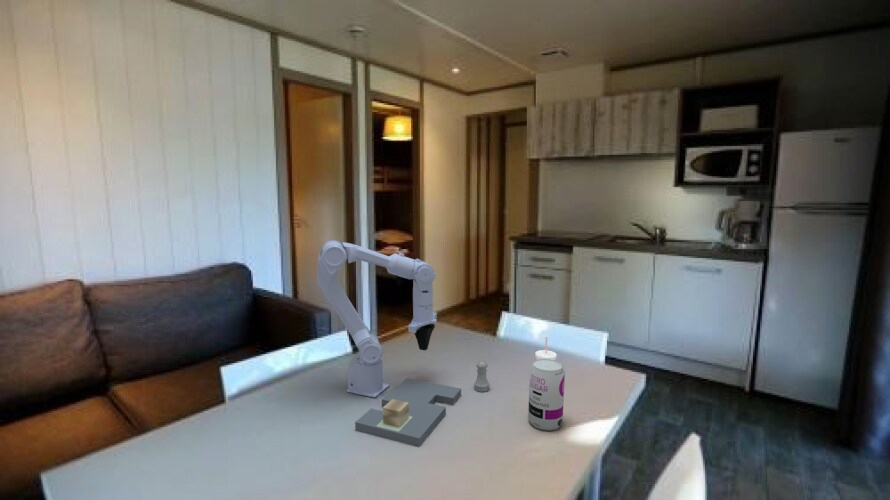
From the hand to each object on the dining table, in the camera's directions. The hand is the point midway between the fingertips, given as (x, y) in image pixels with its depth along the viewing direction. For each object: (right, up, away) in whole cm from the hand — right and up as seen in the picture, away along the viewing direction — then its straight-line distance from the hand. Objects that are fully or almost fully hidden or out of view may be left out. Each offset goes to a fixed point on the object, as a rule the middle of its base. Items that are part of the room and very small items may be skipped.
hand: (423, 349), depth 126 cm
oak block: (-5, -12, -23) cm, 26 cm away
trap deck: (-2, -13, -15) cm, 19 cm away
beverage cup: (+36, -11, +2) cm, 37 cm away
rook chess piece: (+17, -11, -2) cm, 20 cm away
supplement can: (+31, -14, -20) cm, 39 cm away
